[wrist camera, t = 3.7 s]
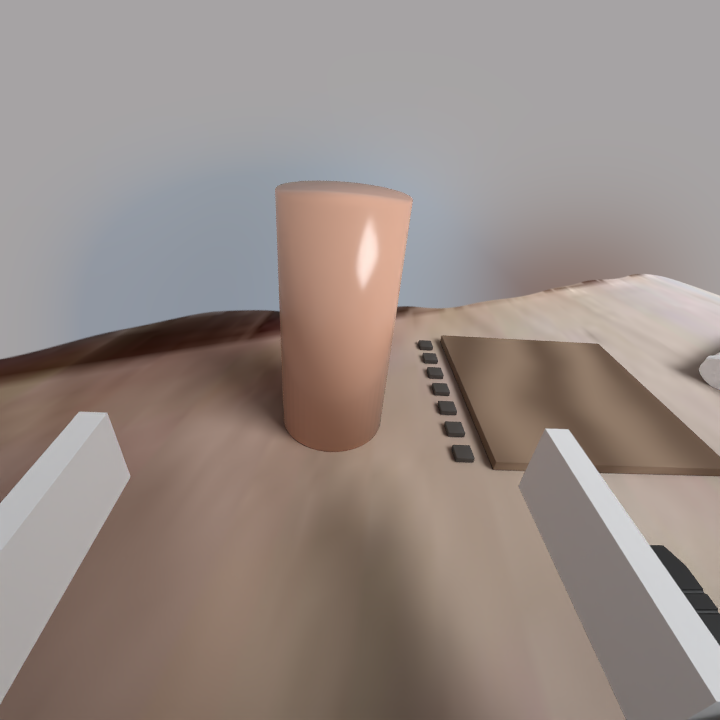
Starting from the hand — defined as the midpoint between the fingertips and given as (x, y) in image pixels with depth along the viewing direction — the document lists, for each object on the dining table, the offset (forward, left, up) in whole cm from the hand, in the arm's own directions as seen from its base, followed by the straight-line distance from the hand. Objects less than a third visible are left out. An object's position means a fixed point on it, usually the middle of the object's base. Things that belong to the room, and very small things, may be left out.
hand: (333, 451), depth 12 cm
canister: (0, -10, -7) cm, 12 cm away
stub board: (-16, -13, -7) cm, 22 cm away
